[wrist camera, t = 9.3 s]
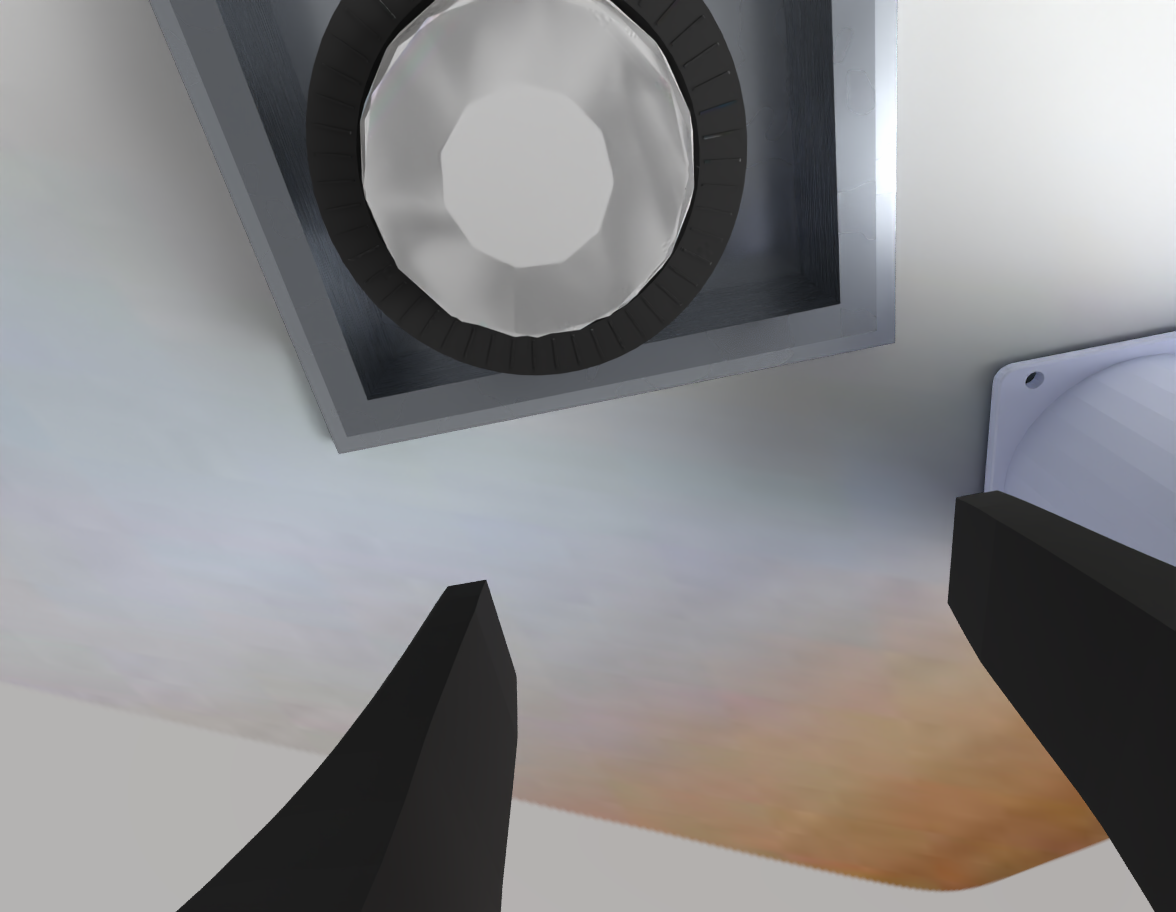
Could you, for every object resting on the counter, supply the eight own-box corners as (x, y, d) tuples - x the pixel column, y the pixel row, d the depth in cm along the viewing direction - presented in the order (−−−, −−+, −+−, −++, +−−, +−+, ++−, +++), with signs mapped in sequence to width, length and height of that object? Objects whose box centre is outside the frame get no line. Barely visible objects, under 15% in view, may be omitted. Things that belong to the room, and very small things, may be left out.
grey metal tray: (887, -433, 13) (995, -601, 10) (885, 335, 20) (948, 383, 17) (72, -218, 14) (-73, -308, 11) (344, 444, 21) (305, 509, 18)
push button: (719, 217, 18) (882, 351, 9) (541, 327, 19) (528, 543, 10) (579, -61, 15) (612, -277, 6) (380, 87, 16) (163, 90, 7)
